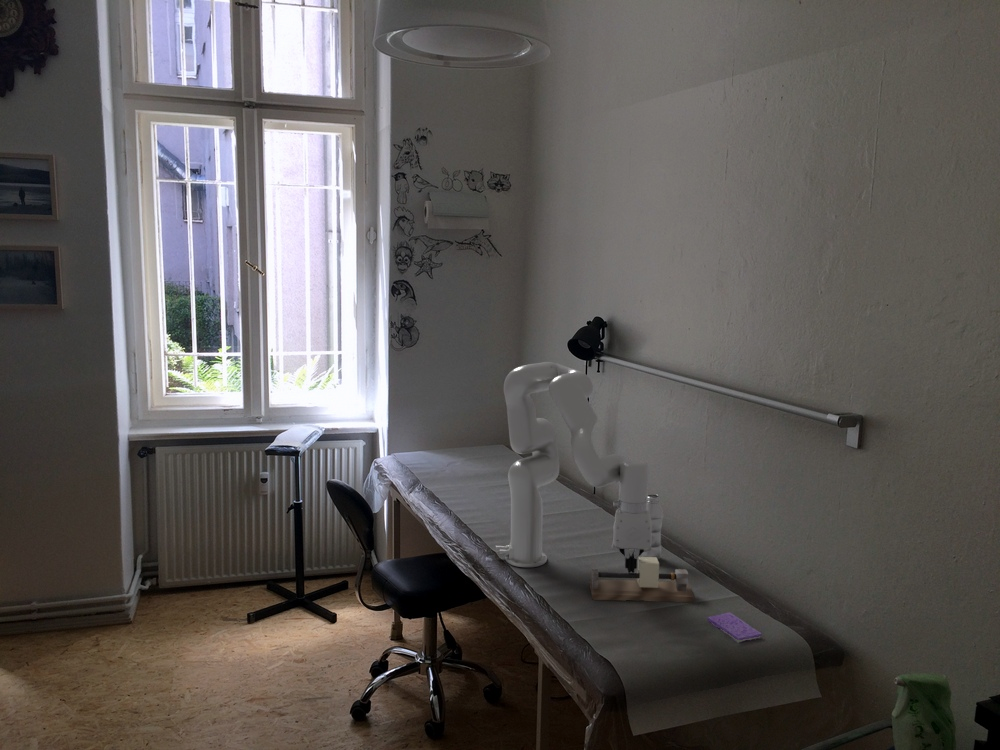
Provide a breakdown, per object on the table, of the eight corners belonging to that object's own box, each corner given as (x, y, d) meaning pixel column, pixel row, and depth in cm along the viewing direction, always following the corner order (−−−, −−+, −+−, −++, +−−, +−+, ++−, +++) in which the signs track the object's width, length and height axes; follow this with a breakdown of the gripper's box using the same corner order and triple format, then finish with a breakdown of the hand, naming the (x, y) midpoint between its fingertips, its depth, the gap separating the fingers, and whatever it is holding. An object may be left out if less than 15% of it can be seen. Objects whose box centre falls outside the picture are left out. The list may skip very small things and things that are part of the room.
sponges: (738, 645, 190) (738, 637, 190) (706, 622, 202) (706, 615, 202) (761, 640, 193) (762, 633, 192) (729, 618, 204) (729, 611, 204)
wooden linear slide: (592, 599, 213) (593, 576, 212) (589, 584, 223) (590, 562, 222) (693, 602, 212) (694, 579, 211) (686, 586, 222) (687, 564, 221)
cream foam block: (639, 587, 215) (640, 563, 214) (637, 580, 220) (638, 556, 219) (658, 587, 215) (659, 563, 214) (655, 580, 220) (656, 557, 219)
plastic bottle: (635, 557, 244) (637, 494, 241) (654, 554, 247) (657, 492, 244) (646, 564, 238) (649, 500, 235) (665, 561, 241) (668, 498, 238)
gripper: (606, 509, 211) (604, 575, 214) (662, 510, 210) (660, 577, 213) (603, 501, 218) (602, 564, 221) (658, 502, 218) (656, 566, 220)
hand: (630, 570), depth 217 cm, fingers closed
